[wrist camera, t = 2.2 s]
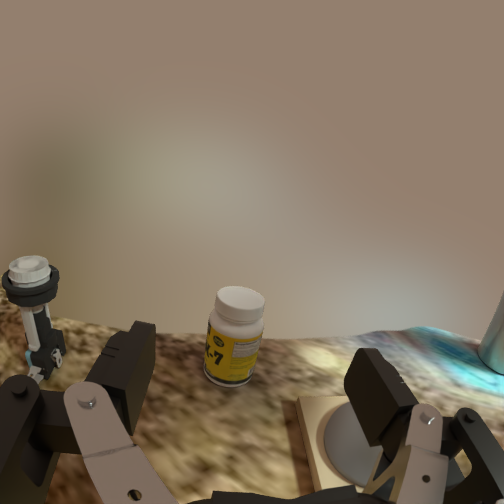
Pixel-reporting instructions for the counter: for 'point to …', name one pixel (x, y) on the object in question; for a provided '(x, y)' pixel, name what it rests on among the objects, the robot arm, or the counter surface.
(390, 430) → the robot arm
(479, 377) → the counter surface
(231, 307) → the supplement bottle
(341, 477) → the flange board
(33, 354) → the push button
